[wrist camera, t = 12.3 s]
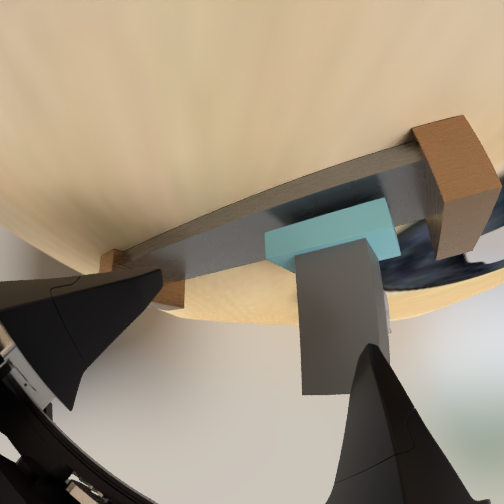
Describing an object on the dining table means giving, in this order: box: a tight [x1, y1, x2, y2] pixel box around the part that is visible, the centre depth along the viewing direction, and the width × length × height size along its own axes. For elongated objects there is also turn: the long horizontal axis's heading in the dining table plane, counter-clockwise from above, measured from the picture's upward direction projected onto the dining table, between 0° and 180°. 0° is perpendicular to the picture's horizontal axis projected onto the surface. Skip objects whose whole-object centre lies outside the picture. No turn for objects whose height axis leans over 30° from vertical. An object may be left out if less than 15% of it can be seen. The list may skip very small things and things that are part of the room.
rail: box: [99, 115, 502, 310], centre depth 19 cm, size 30×9×4 cm, turn 125°
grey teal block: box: [265, 197, 401, 395], centre depth 14 cm, size 7×5×9 cm
